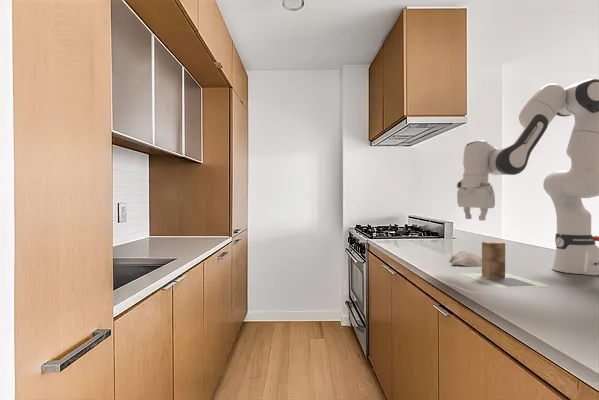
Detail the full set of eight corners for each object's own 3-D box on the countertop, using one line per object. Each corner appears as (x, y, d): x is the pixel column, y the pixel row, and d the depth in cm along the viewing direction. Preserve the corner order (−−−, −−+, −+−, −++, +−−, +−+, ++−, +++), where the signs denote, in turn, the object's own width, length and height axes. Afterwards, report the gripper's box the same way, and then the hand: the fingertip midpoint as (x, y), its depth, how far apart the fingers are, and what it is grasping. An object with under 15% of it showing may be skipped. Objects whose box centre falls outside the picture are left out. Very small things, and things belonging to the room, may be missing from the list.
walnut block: (497, 275, 149) (497, 241, 149) (505, 277, 145) (505, 243, 144) (481, 275, 148) (481, 241, 148) (489, 278, 144) (489, 243, 144)
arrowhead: (451, 256, 171) (449, 245, 200) (451, 268, 171) (448, 256, 200) (488, 258, 167) (481, 247, 195) (488, 271, 167) (480, 258, 195)
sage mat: (503, 273, 155) (503, 272, 155) (550, 287, 131) (550, 285, 131) (458, 274, 153) (458, 273, 153) (498, 289, 129) (498, 287, 129)
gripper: (499, 182, 148) (499, 221, 148) (469, 184, 168) (468, 218, 168) (483, 182, 147) (482, 221, 147) (454, 183, 167) (454, 218, 167)
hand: (475, 219), depth 158 cm, fingers open, 8 cm apart
